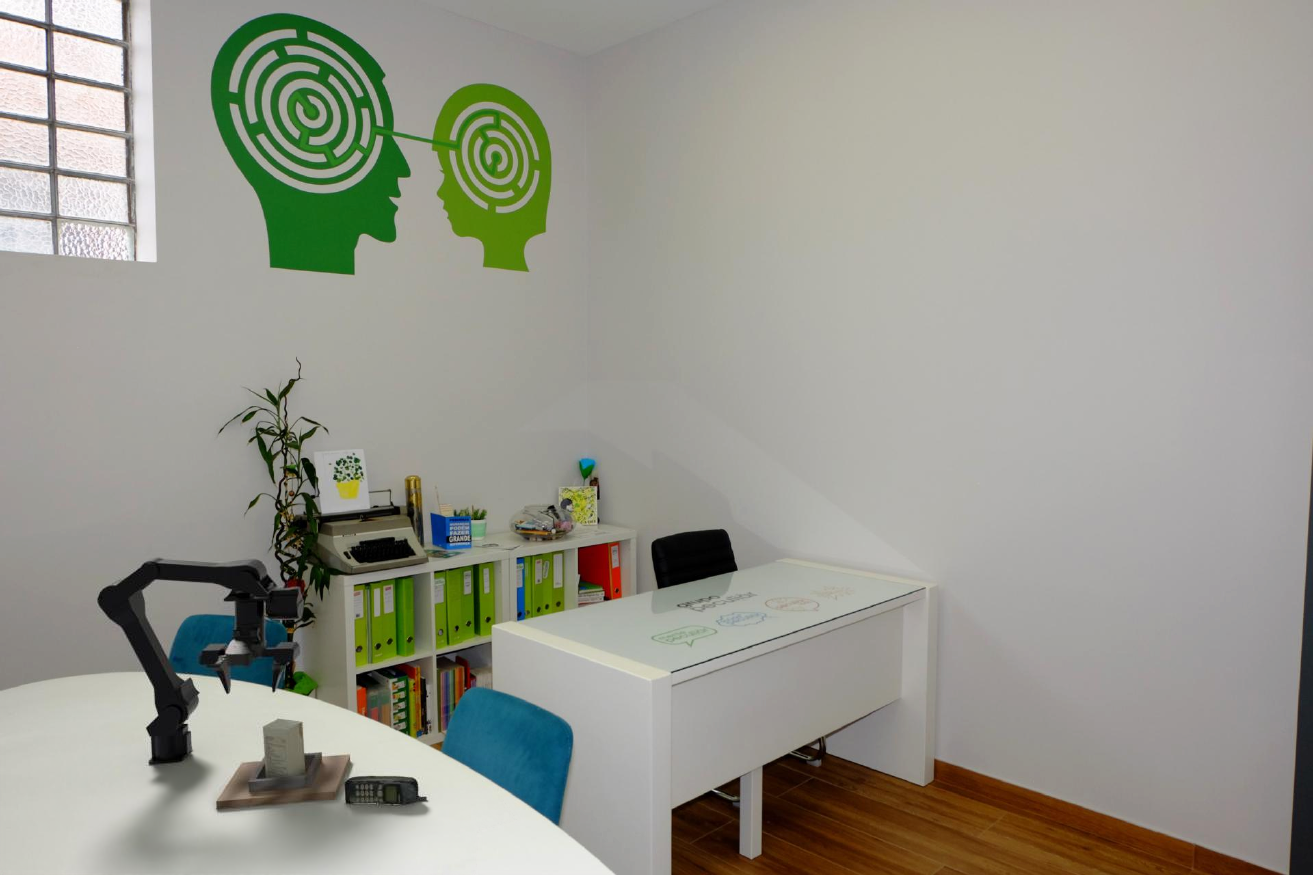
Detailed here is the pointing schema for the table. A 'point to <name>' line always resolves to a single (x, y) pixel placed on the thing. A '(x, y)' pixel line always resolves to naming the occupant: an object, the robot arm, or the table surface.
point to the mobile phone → (381, 790)
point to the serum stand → (285, 783)
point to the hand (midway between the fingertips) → (251, 692)
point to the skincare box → (284, 748)
